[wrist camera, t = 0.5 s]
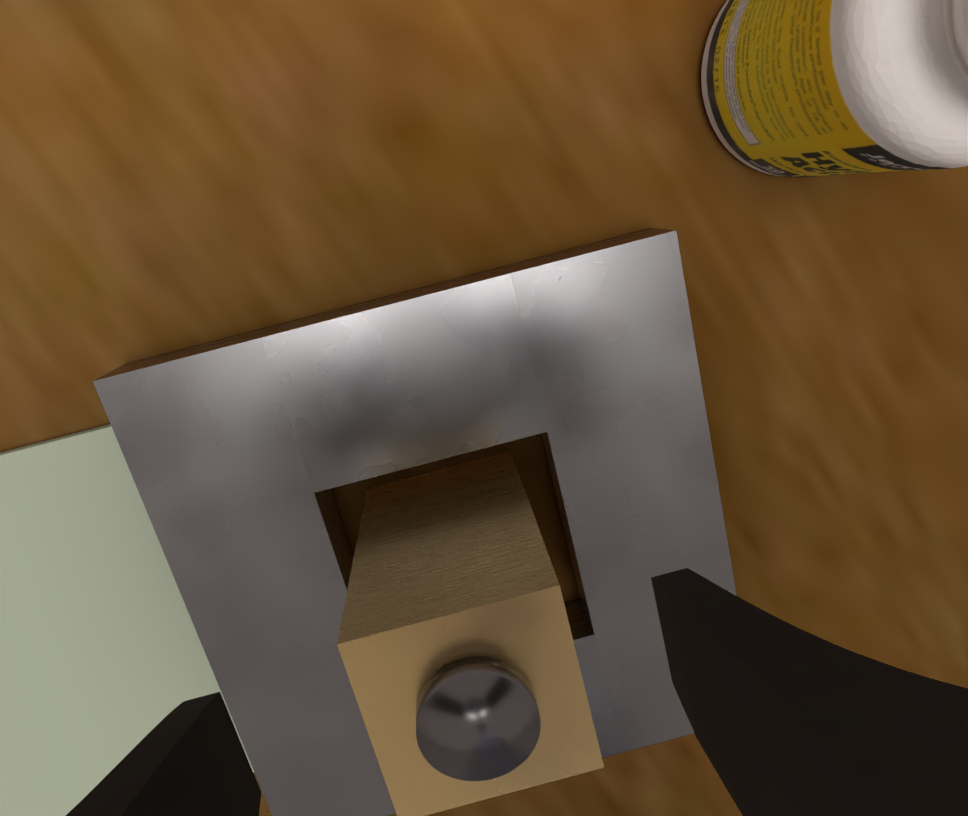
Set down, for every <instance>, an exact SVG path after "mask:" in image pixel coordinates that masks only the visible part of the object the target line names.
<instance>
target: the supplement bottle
mask: <svg viewBox="0 0 968 816" xmlns="http://www.w3.org/2000/svg"><path fill="white" fill-rule="evenodd" d="M701 87H702V96H703V100H704V105H705V108H706V112H707V115H708V118H709V120H710V123H711V125H712V127H713V129H714V131H715V133H716V135H717V136H718V138H719V139H720V141H721V142H722V143H723V145H724V146H725V147H726V148H727V149H728V151H729V152H730V153H731V154H732V155H734V156H735V157H736V158H737V159H738V160H740V161H741V162H742V163H744V164H746V165H747V166H749V167H751V168H753V169H755V170H758V171H760V172H763V173H766V174H771V175H776V176H783V177H811V176H824V175H840V174H857V173H872V172H886V171H905V170H926V169H953V168H957V167H964V166H968V0H727V1H726V3H725V4H724V6H723V7H722V9H721V10H720V12H719V14H718V16H717V17H716V19H715V21H714V23H713V26H712V28H711V30H710V33H709V35H708V39H707V42H706V45H705V50H704V55H703V61H702V69H701Z"/></svg>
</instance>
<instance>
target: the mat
mask: <svg viewBox="0 0 968 816" xmlns="http://www.w3.org/2000/svg"><path fill="white" fill-rule="evenodd" d="M217 692H220V693H221V690H220V688H219V685H218V683H217V680H216V678H215V676H214V673H213V671H212V668H211V666H210V664H209V661H208V659H207V656H206V654H205V651H204V649H203V647H202V644H201V642H200V639H199V637H198V634H197V632H196V630H195V627H194V625H193V622H192V620H191V618H190V615H189V613H188V610H187V608H186V605H185V603H184V601H183V598H182V596H181V593H180V591H179V589H178V586H177V584H176V581H175V579H174V576H173V574H172V572H171V569H170V567H169V564H168V562H167V559H166V557H165V555H164V552H163V550H162V547H161V545H160V543H159V540H158V538H157V535H156V533H155V530H154V528H153V526H152V523H151V521H150V518H149V516H148V514H147V511H146V509H145V506H144V504H143V501H142V499H141V497H140V494H139V492H138V489H137V487H136V484H135V482H134V480H133V477H132V475H131V472H130V470H129V468H128V465H127V463H126V460H125V458H124V455H123V453H122V451H121V448H120V446H119V443H118V441H117V438H116V436H115V434H114V431H113V429H112V426H111V424H108V425H104V426H101V427H97V428H93V429H89V430H85V431H81V432H78V433H74V434H70V435H66V436H62V437H58V438H54V439H51V440H47V441H43V442H39V443H35V444H31V445H27V446H24V447H20V448H16V449H12V450H8V451H4V452H0V816H66V815H67V814H68V813H69V812H70V811H71V810H72V809H73V808H74V807H75V806H76V805H77V804H78V803H79V802H81V801H82V800H83V799H84V798H85V797H86V796H87V795H88V794H89V793H90V792H91V791H92V790H93V789H94V788H95V787H96V786H97V785H98V784H99V783H100V782H101V781H102V780H103V779H104V778H105V777H106V776H107V775H108V774H109V773H110V772H111V771H112V770H113V769H114V768H115V767H116V766H117V765H118V764H119V763H120V762H121V761H122V760H123V759H124V758H125V757H126V756H127V755H128V754H129V753H130V752H131V751H132V750H133V749H134V747H135V746H136V745H137V744H138V743H139V742H140V741H141V740H142V739H143V738H144V737H145V736H146V735H147V734H148V733H149V732H150V731H152V730H153V729H154V728H155V727H156V726H157V725H158V724H159V723H160V722H161V721H162V720H163V719H164V718H165V717H166V716H167V715H168V714H169V713H170V712H172V711H173V710H174V709H175V708H176V707H177V706H179V705H180V704H181V703H182V702H183V701H187V700H191V699H194V698H198V697H202V696H206V695H209V694H213V693H217ZM221 695H222V693H221ZM222 698H223V700H224V697H223V695H222ZM224 703H225V705H226V702H225V700H224ZM226 707H227V705H226ZM227 710H228V707H227ZM228 712H229V710H228ZM229 715H230V717H231V714H230V712H229ZM231 720H232V722H233V719H232V717H231ZM233 725H234V727H235V730H236V732H237V734H238V731H237V729H236V726H235V724H234V722H233ZM238 737H239V739H240V736H239V734H238ZM240 742H241V744H242V747H243V749H244V752H245V754H246V756H247V759H248V761H249V764H250V766H251V769H252V771H253V772H254V770H253V768H252V765H251V763H250V760H249V758H248V755H247V753H246V751H245V748H244V746H243V743H242V741H241V739H240Z"/></svg>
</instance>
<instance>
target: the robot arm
mask: <svg viewBox="0 0 968 816" xmlns="http://www.w3.org/2000/svg"><path fill="white" fill-rule="evenodd" d="M651 580H652V585H653V590H654V595H655V600H656V605H657V610H658V615H659V620H660V625H661V629H662V634H663V639H664V644H665V649H666V654H667V659H668V664H669V669H670V673H671V678H672V683H673V685H674V687H675V690H676V692H677V694H678V697H679V699H680V701H681V704H682V706H683V708H684V710H685V713H686V715H687V717H688V719H689V722H690V724H691V726H692V728H693V730H694V733H695V735H696V737H697V739H698V741H699V742H700V744H701V746H702V748H703V749H704V751H705V753H706V754H707V756H708V758H709V759H710V761H711V763H712V765H713V766H714V768H715V770H716V771H717V773H718V775H719V776H720V778H721V780H722V782H723V783H724V785H725V787H726V788H727V790H728V792H729V793H730V795H731V797H732V798H733V800H734V802H735V803H736V805H737V807H738V808H739V810H740V812H741V813H742V815H743V816H968V689H967V688H963V687H960V686H956V685H952V684H949V683H945V682H941V681H938V680H934V679H930V678H927V677H924V676H921V675H917V674H914V673H911V672H908V671H905V670H902V669H899V668H896V667H893V666H890V665H888V664H885V663H882V662H879V661H876V660H874V659H871V658H868V657H865V656H862V655H860V654H857V653H854V652H852V651H849V650H847V649H844V648H842V647H839V646H837V645H835V644H832V643H830V642H828V641H826V640H823V639H821V638H819V637H817V636H815V635H812V634H810V633H808V632H806V631H803V630H801V629H799V628H797V627H795V626H793V625H791V624H789V623H787V622H785V621H783V620H781V619H779V618H777V617H775V616H773V615H771V614H769V613H767V612H765V611H763V610H761V609H759V608H757V607H756V606H754V605H752V604H750V603H748V602H746V601H745V600H743V599H741V598H739V597H737V596H736V595H734V594H732V593H730V592H729V591H727V590H725V589H723V588H722V587H720V586H718V585H716V584H715V583H713V582H711V581H709V580H708V579H706V578H704V577H703V576H701V575H699V574H697V573H696V572H694V571H692V570H690V569H688V568H685V569H681V570H677V571H673V572H670V573H666V574H662V575H658V576H655V577H651ZM260 799H261V791H260V788H259V786H258V783H257V781H256V778H255V776H254V774H253V771H252V769H251V766H250V764H249V761H248V759H247V756H246V754H245V752H244V749H243V747H242V744H241V742H240V739H239V737H238V734H237V732H236V730H235V727H234V725H233V722H232V720H231V717H230V715H229V712H228V710H227V707H226V705H225V703H224V700H223V698H222V695H221V693H220V692H217V693H213V694H209V695H206V696H202V697H198V698H194V699H191V700H187V701H183V702H182V703H181V704H180V705H179V706H177V707H176V708H175V709H174V710H173V711H172V712H170V713H169V714H168V715H167V716H166V717H165V718H164V719H163V720H162V721H161V722H160V723H159V724H158V725H157V726H156V727H155V728H154V729H153V730H152V731H150V732H149V733H148V734H147V735H146V736H145V737H144V738H143V739H142V740H141V741H140V742H139V743H138V744H137V745H136V746H135V747H134V749H133V750H132V751H131V752H130V753H129V754H128V755H127V756H126V757H125V758H124V759H123V760H122V761H121V762H120V763H119V764H118V765H117V766H116V767H115V768H114V769H113V770H112V771H111V772H110V773H109V774H108V775H107V776H106V777H105V778H104V779H103V780H102V781H101V782H100V783H99V784H98V785H97V786H96V787H95V788H94V789H93V790H92V791H91V792H90V793H89V794H88V795H87V796H86V797H85V798H84V799H83V800H82V801H81V802H79V803H78V804H77V805H76V806H75V807H74V808H73V809H72V810H71V811H70V812H69V813H68V814H67V815H66V816H259V807H260Z"/></svg>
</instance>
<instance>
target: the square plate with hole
mask: <svg viewBox="0 0 968 816" xmlns="http://www.w3.org/2000/svg"><path fill="white" fill-rule="evenodd" d="M93 383H94V385H95V388H96V390H97V393H98V395H99V397H100V400H101V402H102V405H103V407H104V409H105V412H106V414H107V417H108V419H109V422H110V424H111V426H112V429H113V431H114V434H115V436H116V438H117V441H118V443H119V446H120V448H121V451H122V453H123V455H124V458H125V460H126V463H127V465H128V468H129V470H130V472H131V475H132V477H133V480H134V482H135V484H136V487H137V489H138V492H139V494H140V497H141V499H142V501H143V504H144V506H145V509H146V511H147V514H148V516H149V518H150V521H151V523H152V526H153V528H154V530H155V533H156V535H157V538H158V540H159V543H160V545H161V547H162V550H163V552H164V555H165V557H166V559H167V562H168V564H169V567H170V569H171V572H172V574H173V576H174V579H175V581H176V584H177V586H178V589H179V591H180V593H181V596H182V598H183V601H184V603H185V605H186V608H187V610H188V613H189V615H190V618H191V620H192V622H193V625H194V627H195V630H196V632H197V634H198V637H199V639H200V642H201V644H202V647H203V649H204V651H205V654H206V656H207V659H208V661H209V664H210V666H211V668H212V671H213V673H214V676H215V678H216V680H217V683H218V685H219V688H220V690H221V693H222V695H223V697H224V700H225V702H226V705H227V707H228V710H229V712H230V714H231V717H232V719H233V722H234V724H235V726H236V729H237V731H238V734H239V736H240V739H241V741H242V743H243V746H244V748H245V751H246V753H247V755H248V758H249V760H250V763H251V765H252V768H253V770H254V772H255V775H256V777H257V780H258V782H259V785H260V787H261V789H262V792H263V794H264V797H265V799H266V801H267V804H268V806H269V809H270V811H271V814H272V816H387V815H391V814H395V813H396V811H395V808H394V805H393V803H392V800H391V797H390V794H389V791H388V788H387V785H386V783H385V780H384V777H383V774H382V771H381V768H380V766H379V763H378V760H377V757H376V754H375V751H374V748H373V746H372V743H371V740H370V737H369V734H368V731H367V729H366V726H365V723H364V720H363V717H362V714H361V711H360V709H359V706H358V703H357V700H356V697H355V694H354V692H353V689H352V686H351V683H350V680H349V677H348V674H347V672H346V669H345V666H344V663H343V660H342V657H341V655H340V652H339V649H338V646H337V642H338V636H339V631H340V626H341V621H342V615H343V610H344V605H345V600H346V594H347V589H348V584H349V579H350V574H351V568H352V563H353V558H354V557H353V554H352V551H351V548H350V545H349V542H348V539H347V536H346V533H345V530H344V527H343V524H342V521H341V518H340V515H339V512H338V509H337V506H336V503H335V500H334V497H333V494H332V491H331V488H335V487H338V486H342V485H346V484H350V483H354V482H357V481H361V480H365V479H369V478H373V477H377V476H380V475H384V474H388V473H392V472H396V471H399V470H403V469H407V468H411V467H415V466H419V465H422V464H426V463H430V462H434V461H438V460H442V459H445V458H449V457H453V456H457V455H461V454H464V453H468V452H472V451H476V450H480V449H484V448H487V447H491V446H495V445H499V444H503V443H506V442H510V441H514V440H518V439H522V438H526V437H529V436H533V435H537V434H541V435H542V440H543V444H544V448H545V452H546V457H547V461H548V465H549V469H550V474H551V478H552V482H553V486H554V491H555V495H556V499H557V503H558V508H559V512H560V516H561V520H562V524H563V529H564V533H565V537H566V541H567V546H568V550H569V554H570V558H571V563H572V567H573V571H574V575H575V580H576V584H577V588H578V592H579V597H580V599H578V600H574V601H570V602H566V603H564V605H565V609H566V613H567V617H568V621H569V625H570V629H571V633H572V637H573V641H574V646H575V650H576V654H577V658H578V662H579V666H580V670H581V674H582V678H583V683H584V687H585V691H586V695H587V699H588V703H589V707H590V711H591V715H592V720H593V724H594V728H595V732H596V736H597V740H598V744H599V748H600V752H601V756H602V758H603V757H607V756H611V755H615V754H618V753H622V752H626V751H630V750H633V749H637V748H641V747H645V746H648V745H652V744H656V743H659V742H663V741H667V740H671V739H674V738H678V737H682V736H686V735H689V734H693V733H694V730H693V728H692V726H691V724H690V722H689V719H688V717H687V715H686V713H685V710H684V708H683V706H682V704H681V701H680V699H679V697H678V694H677V692H676V690H675V687H674V685H673V683H672V678H671V673H670V669H669V664H668V659H667V654H666V649H665V644H664V639H663V634H662V629H661V625H660V620H659V615H658V610H657V605H656V600H655V595H654V590H653V585H652V580H651V577H655V576H658V575H662V574H666V573H670V572H673V571H677V570H681V569H685V568H688V569H690V570H692V571H694V572H696V573H697V574H699V575H701V576H703V577H704V578H706V579H708V580H709V581H711V582H713V583H715V584H716V585H718V586H720V587H722V588H723V589H725V590H727V591H729V592H730V593H732V594H734V595H736V589H735V583H734V577H733V571H732V565H731V559H730V552H729V546H728V540H727V534H726V528H725V522H724V516H723V510H722V504H721V498H720V492H719V486H718V480H717V474H716V468H715V462H714V456H713V450H712V444H711V438H710V432H709V426H708V420H707V414H706V408H705V402H704V395H703V389H702V383H701V377H700V371H699V365H698V359H697V353H696V347H695V341H694V335H693V329H692V323H691V317H690V311H689V305H688V299H687V293H686V287H685V281H684V275H683V269H682V263H681V257H680V251H679V245H678V239H677V232H676V230H667V229H656V228H650V229H646V230H643V231H639V232H635V233H631V234H627V235H623V236H619V237H615V238H612V239H608V240H604V241H600V242H596V243H592V244H588V245H584V246H581V247H577V248H573V249H569V250H565V251H561V252H557V253H554V254H550V255H546V256H542V257H538V258H534V259H530V260H526V261H523V262H519V263H515V264H511V265H507V266H503V267H499V268H495V269H492V270H488V271H484V272H480V273H476V274H472V275H468V276H464V277H461V278H457V279H453V280H449V281H445V282H441V283H437V284H434V285H430V286H426V287H422V288H418V289H414V290H410V291H406V292H403V293H399V294H395V295H391V296H387V297H383V298H379V299H375V300H372V301H368V302H364V303H360V304H356V305H352V306H348V307H345V308H341V309H337V310H333V311H329V312H325V313H321V314H317V315H314V316H310V317H306V318H302V319H298V320H294V321H290V322H286V323H283V324H279V325H275V326H271V327H267V328H263V329H259V330H256V331H252V332H248V333H244V334H240V335H236V336H232V337H228V338H225V339H221V340H217V341H213V342H209V343H205V344H201V345H197V346H194V347H190V348H186V349H182V350H178V351H174V352H170V353H166V354H163V355H159V356H155V357H151V358H147V359H143V360H139V361H136V362H132V363H128V364H124V365H122V366H120V367H119V368H117V369H115V370H113V371H111V372H109V373H107V374H105V375H104V376H102V377H100V378H98V379H96V380H94V381H93ZM736 596H737V595H736Z"/></svg>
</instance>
